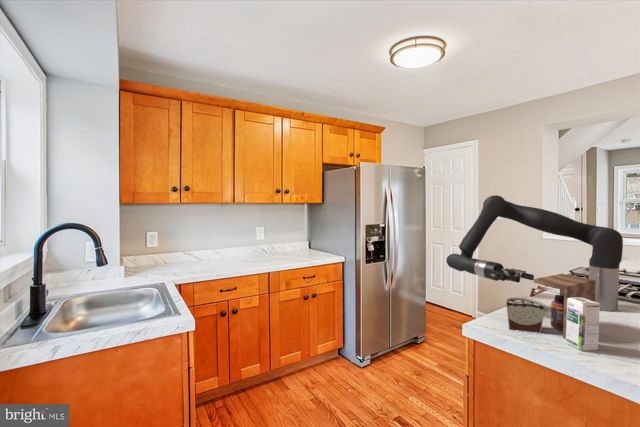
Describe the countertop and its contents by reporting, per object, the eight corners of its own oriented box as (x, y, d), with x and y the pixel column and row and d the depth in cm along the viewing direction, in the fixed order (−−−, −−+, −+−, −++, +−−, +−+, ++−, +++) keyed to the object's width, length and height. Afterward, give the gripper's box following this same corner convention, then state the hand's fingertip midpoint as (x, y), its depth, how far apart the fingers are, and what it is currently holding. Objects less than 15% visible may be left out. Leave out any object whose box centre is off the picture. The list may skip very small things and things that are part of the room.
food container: (540, 326, 112) (540, 299, 112) (546, 333, 106) (546, 304, 106) (500, 322, 116) (501, 295, 116) (504, 329, 110) (505, 301, 110)
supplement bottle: (575, 332, 107) (576, 299, 107) (556, 331, 108) (556, 298, 108) (565, 325, 113) (566, 294, 112) (547, 324, 114) (548, 293, 114)
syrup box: (564, 342, 100) (565, 297, 99) (581, 341, 100) (583, 296, 99) (581, 351, 94) (582, 303, 93) (599, 350, 94) (600, 302, 94)
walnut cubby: (560, 318, 119) (561, 273, 118) (594, 328, 110) (595, 279, 109) (532, 327, 112) (533, 279, 111) (565, 338, 102) (567, 286, 102)
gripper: (477, 262, 134) (515, 270, 120) (499, 259, 140) (538, 267, 126) (477, 280, 135) (514, 290, 120) (499, 276, 141) (537, 286, 126)
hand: (526, 278), depth 123 cm, fingers open, 8 cm apart
